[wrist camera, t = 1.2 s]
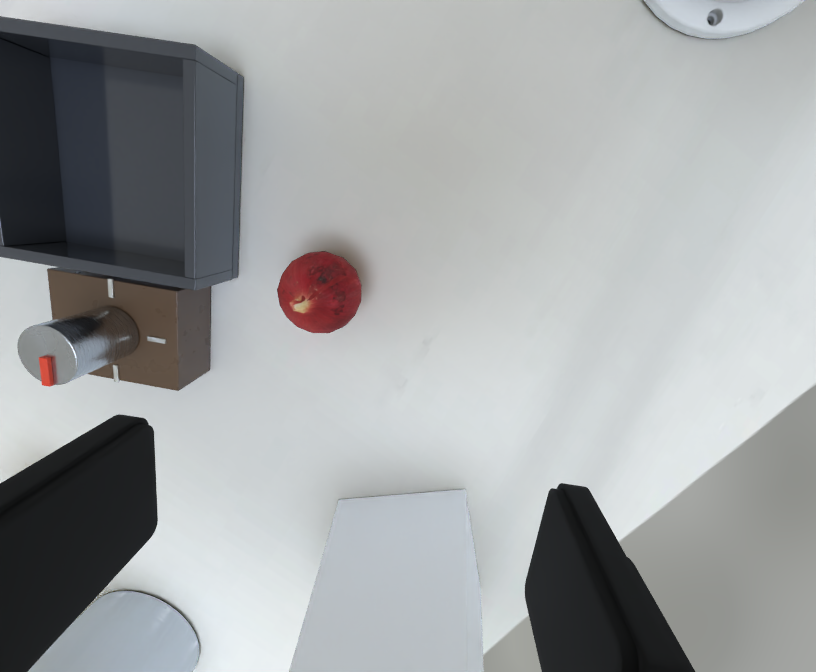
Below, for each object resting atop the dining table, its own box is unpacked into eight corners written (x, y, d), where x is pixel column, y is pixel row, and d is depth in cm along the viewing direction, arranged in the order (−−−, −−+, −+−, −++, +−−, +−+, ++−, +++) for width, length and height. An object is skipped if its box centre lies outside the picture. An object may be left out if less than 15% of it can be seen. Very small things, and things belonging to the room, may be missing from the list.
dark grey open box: (51, 48, 30) (-42, 9, 25) (244, 76, 30) (195, 44, 24) (69, 248, 35) (-6, 256, 29) (238, 277, 34) (195, 290, 28)
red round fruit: (330, 231, 32) (293, 237, 25) (384, 283, 33) (365, 304, 25) (285, 285, 34) (237, 306, 26) (338, 333, 35) (306, 367, 27)
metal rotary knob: (86, 302, 31) (7, 321, 25) (138, 311, 31) (70, 332, 25) (91, 352, 32) (16, 381, 26) (140, 361, 32) (75, 392, 26)
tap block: (96, 260, 35) (44, 267, 30) (211, 280, 34) (175, 290, 30) (102, 351, 37) (55, 370, 33) (210, 371, 37) (177, 393, 32)
